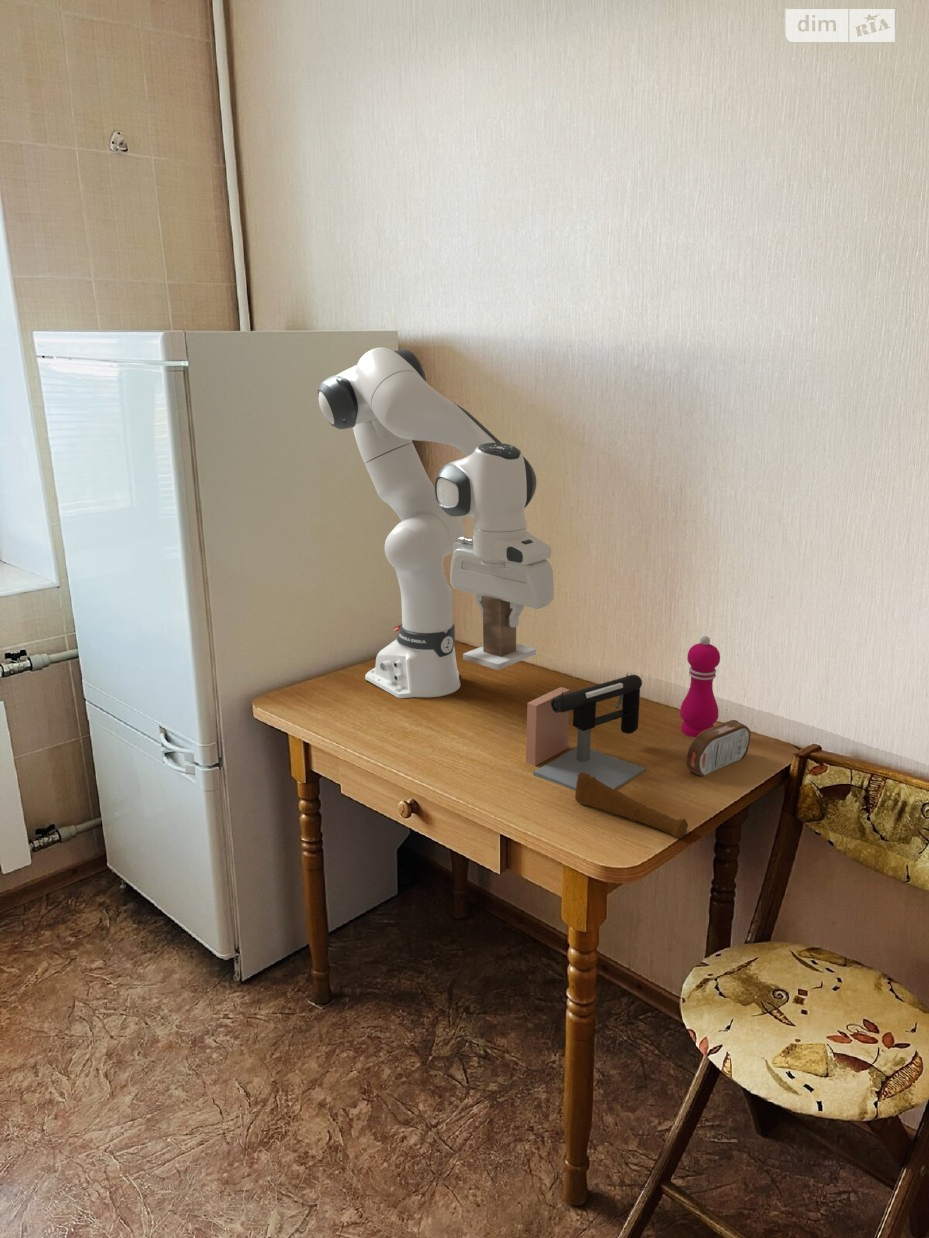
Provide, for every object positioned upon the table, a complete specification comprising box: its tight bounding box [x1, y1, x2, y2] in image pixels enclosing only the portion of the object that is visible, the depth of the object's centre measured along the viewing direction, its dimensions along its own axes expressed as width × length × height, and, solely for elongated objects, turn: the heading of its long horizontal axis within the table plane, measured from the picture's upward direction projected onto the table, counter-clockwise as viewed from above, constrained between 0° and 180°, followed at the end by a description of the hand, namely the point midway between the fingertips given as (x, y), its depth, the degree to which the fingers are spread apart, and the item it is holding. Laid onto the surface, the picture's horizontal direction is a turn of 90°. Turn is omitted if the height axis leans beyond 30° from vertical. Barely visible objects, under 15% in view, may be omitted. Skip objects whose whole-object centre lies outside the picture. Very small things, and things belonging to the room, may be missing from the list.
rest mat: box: [533, 746, 646, 791], centre depth 163 cm, size 14×14×1 cm
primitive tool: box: [574, 773, 689, 839], centre depth 146 cm, size 19×6×4 cm
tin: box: [685, 719, 752, 777], centre depth 164 cm, size 15×3×8 cm, turn 127°
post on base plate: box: [462, 596, 537, 671], centre depth 158 cm, size 8×10×11 cm
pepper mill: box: [679, 635, 721, 739], centre depth 176 cm, size 7×7×20 cm
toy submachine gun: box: [551, 673, 643, 762], centre depth 166 cm, size 3×20×16 cm, turn 124°
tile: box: [525, 686, 571, 767], centre depth 168 cm, size 2×10×12 cm, turn 138°
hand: (499, 622), depth 157 cm, fingers closed on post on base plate, 4 cm apart
